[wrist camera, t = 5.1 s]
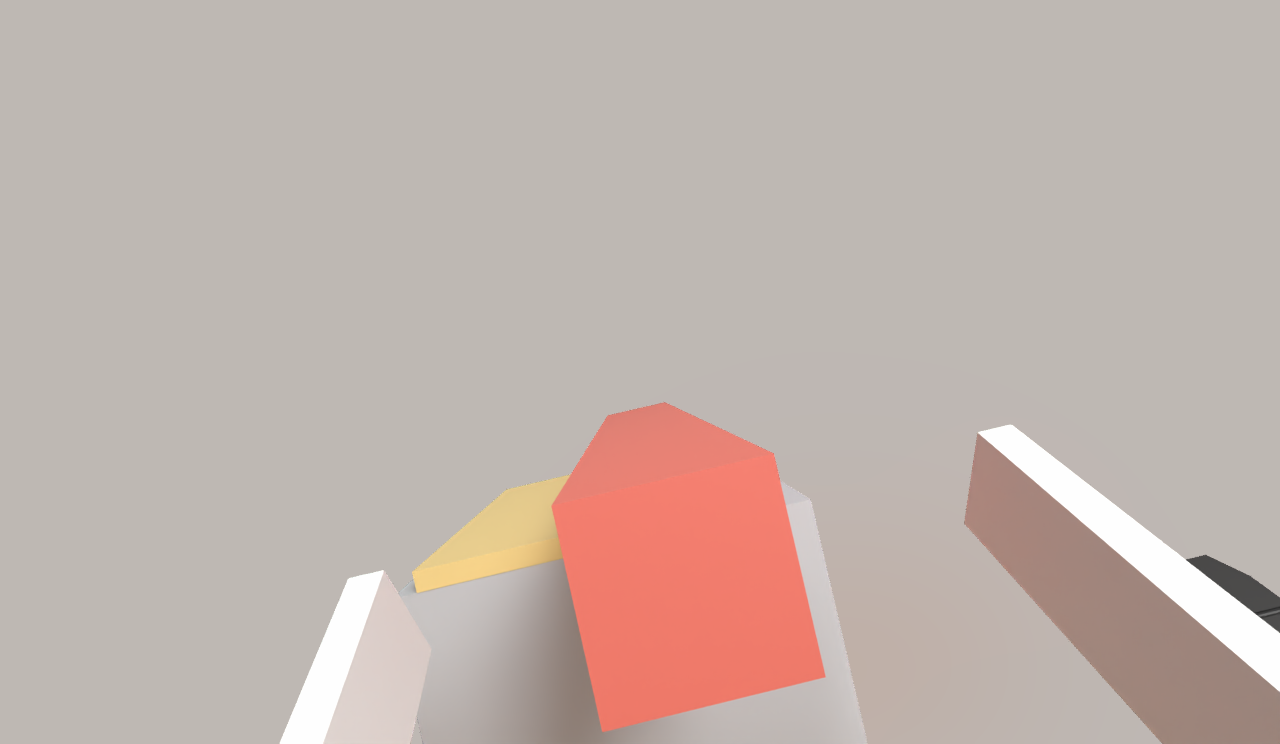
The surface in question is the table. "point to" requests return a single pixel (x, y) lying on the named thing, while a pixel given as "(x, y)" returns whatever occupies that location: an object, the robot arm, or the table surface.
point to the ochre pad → (498, 538)
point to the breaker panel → (559, 678)
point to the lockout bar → (682, 568)
